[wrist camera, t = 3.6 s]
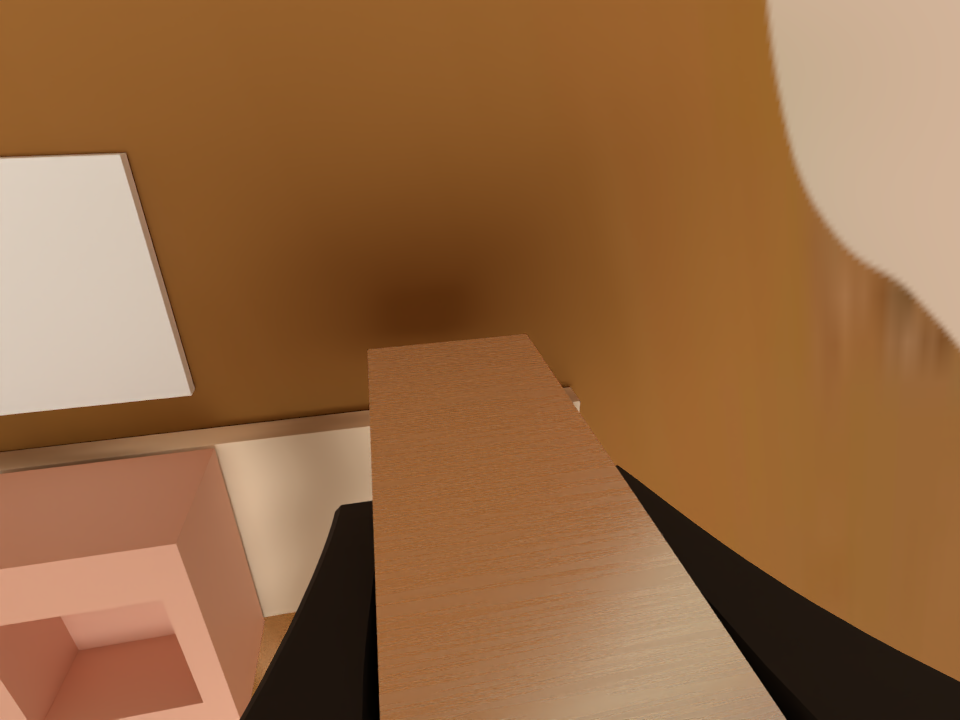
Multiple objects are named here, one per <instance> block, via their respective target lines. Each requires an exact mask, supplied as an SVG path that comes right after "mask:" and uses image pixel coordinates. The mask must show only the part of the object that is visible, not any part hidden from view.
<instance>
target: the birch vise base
mask: <svg viewBox="0 0 960 720" xmlns="http://www.w3.org/2000/svg"><path fill="white" fill-rule="evenodd" d="M563 389H564V390H565V392H566V393H567V395H568V396H569V398H570V399H571V401H572V402H573V404H574V405H575V407H576V408H577V410H578V411H579V409H580V400H579V399H578V397H577V396H576V394H575V393H574V392H573V390H572V389H571V387H567V388H563ZM212 448H214V449H215V453H216V456H217V460H218V463H219V466H220V470H221V473H222V477H223V480H224V484H225V487H226V491H227V494H228V497H229V501H230V504H231V508H232V511H233V515H234V518H235V522H236V525H237V528H238V532H239V535H240V539H241V542H242V546H243V549H244V552H245V556H246V559H247V563H248V566H249V570H250V573H251V577H252V580H253V583H254V587H255V590H256V594H257V597H258V601H259V604H260V607H261V611H262V614H263V617H268V616H274V615H280V614H285V613H291V612H296V611H297V609H298V607H299V605H300V602H301V600H302V598H303V596H304V594H305V591H306V589H307V587H308V585H309V582H310V580H311V578H312V576H313V573H314V571H315V568H316V566H317V563H318V561H319V558H320V556H321V553H322V551H323V548H324V545H325V543H326V540H327V537H328V534H329V531H330V528H331V525H332V521H333V517H334V514H335V511H336V510H337V509H338V508H339V507H340V506H341V505H345V504H352V503H359V502H366V501H373V498H372V469H371V439H370V410H366V411H357V412H348V413H339V414H331V415H322V416H313V417H304V418H296V419H287V420H278V421H269V422H261V423H252V424H243V425H234V426H226V427H217V428H208V429H199V430H191V431H182V432H173V433H164V434H156V435H147V436H138V437H129V438H121V439H112V440H103V441H94V442H86V443H77V444H68V445H59V446H51V447H42V448H33V449H24V450H16V451H7V452H0V474H4V473H12V472H20V471H29V470H37V469H45V468H54V467H62V466H70V465H79V464H87V463H95V462H104V461H112V460H120V459H129V458H137V457H145V456H154V455H162V454H170V453H179V452H187V451H195V450H204V449H212Z"/></svg>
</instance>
